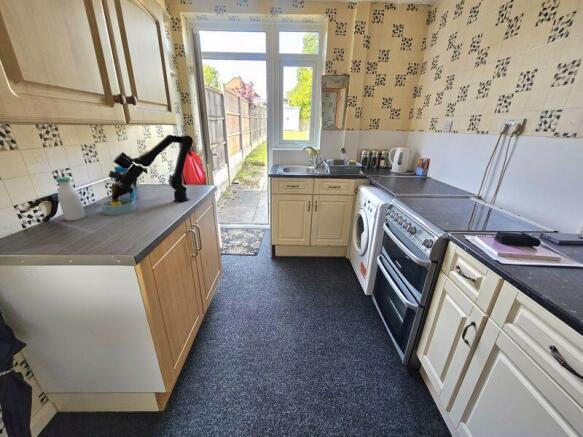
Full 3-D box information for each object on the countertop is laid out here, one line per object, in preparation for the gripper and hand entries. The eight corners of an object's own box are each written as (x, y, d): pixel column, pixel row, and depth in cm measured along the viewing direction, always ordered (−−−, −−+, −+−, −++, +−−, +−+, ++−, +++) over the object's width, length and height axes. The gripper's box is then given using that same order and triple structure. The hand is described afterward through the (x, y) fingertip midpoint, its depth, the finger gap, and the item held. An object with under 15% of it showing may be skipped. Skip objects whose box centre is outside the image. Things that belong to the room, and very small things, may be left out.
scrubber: (117, 208, 133) (117, 184, 130) (122, 209, 131) (122, 185, 129) (108, 209, 129) (107, 184, 127) (113, 210, 127) (112, 185, 125)
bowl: (124, 205, 139) (122, 197, 138) (142, 209, 134) (140, 200, 132) (97, 213, 127) (94, 204, 125) (115, 217, 121) (113, 208, 120)
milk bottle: (89, 217, 122) (77, 177, 115) (70, 222, 115) (57, 180, 108) (80, 214, 125) (68, 175, 118) (62, 219, 118) (47, 178, 111)
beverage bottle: (121, 201, 146) (113, 168, 139) (119, 198, 152) (111, 166, 145) (137, 199, 151) (130, 166, 144) (134, 196, 157) (128, 165, 150)
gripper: (114, 162, 132) (94, 185, 129) (120, 167, 119) (98, 192, 116) (134, 175, 140) (115, 197, 137) (141, 181, 127) (121, 205, 124)
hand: (112, 197), depth 128 cm, fingers closed on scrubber, 3 cm apart
